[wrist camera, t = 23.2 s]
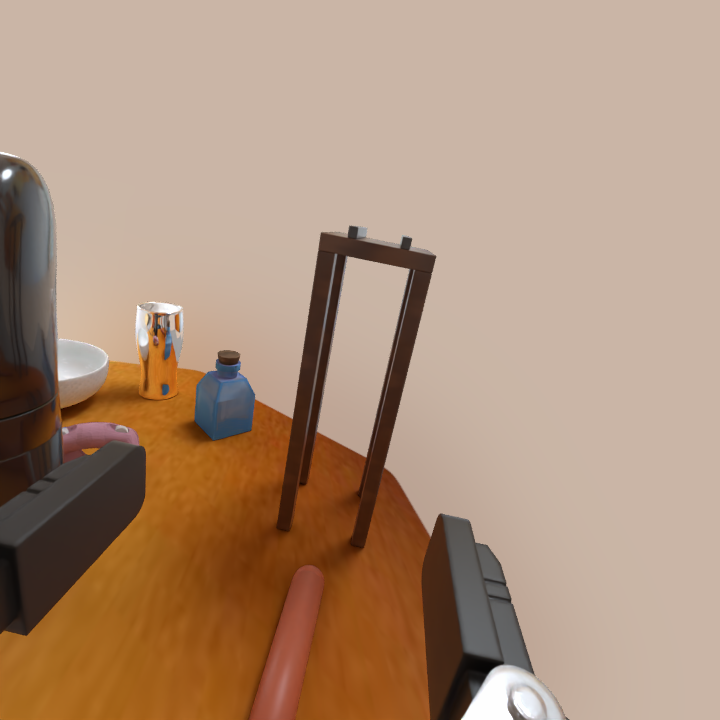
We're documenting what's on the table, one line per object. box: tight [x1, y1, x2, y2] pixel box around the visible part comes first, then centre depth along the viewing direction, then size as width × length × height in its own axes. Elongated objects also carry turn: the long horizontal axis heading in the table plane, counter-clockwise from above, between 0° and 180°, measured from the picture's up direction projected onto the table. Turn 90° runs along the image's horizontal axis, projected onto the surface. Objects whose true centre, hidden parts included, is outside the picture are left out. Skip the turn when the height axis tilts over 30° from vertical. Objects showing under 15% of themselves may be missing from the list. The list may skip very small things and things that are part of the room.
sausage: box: [249, 565, 324, 720], centre depth 28 cm, size 21×3×3 cm, turn 174°
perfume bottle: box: [195, 350, 255, 441], centre depth 59 cm, size 6×6×12 cm
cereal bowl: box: [58, 339, 109, 409], centre depth 57 cm, size 17×17×7 cm
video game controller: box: [62, 422, 139, 463], centre depth 46 cm, size 10×5×7 cm, turn 115°
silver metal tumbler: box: [135, 302, 184, 400], centre depth 65 cm, size 7×7×15 cm
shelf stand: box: [277, 226, 436, 548], centre depth 43 cm, size 10×10×33 cm
